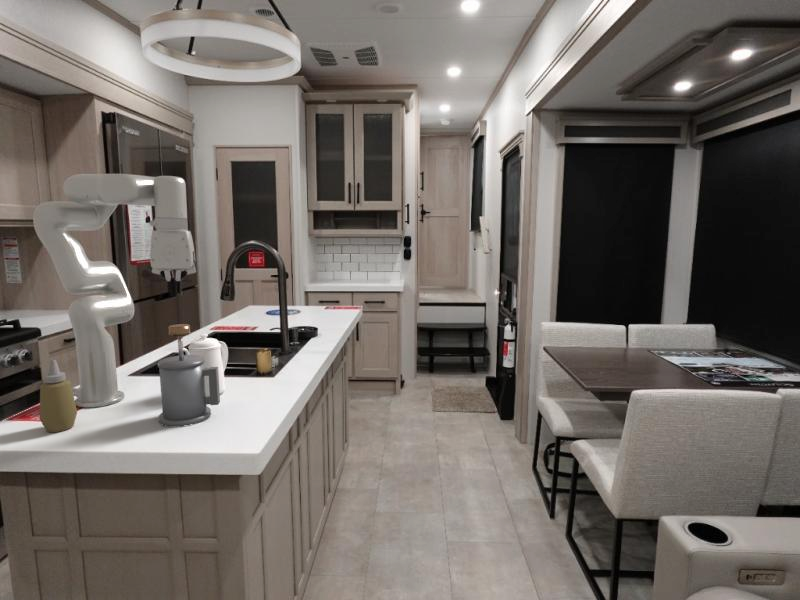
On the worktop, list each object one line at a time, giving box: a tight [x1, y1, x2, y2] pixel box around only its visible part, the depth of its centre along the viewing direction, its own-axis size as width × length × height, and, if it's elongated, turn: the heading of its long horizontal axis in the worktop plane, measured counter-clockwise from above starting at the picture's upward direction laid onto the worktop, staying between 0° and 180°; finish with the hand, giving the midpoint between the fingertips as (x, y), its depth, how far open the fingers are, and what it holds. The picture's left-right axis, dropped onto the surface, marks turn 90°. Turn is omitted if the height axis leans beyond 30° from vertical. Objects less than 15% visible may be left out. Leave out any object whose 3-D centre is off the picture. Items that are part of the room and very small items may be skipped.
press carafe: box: [157, 354, 221, 427], centre depth 135 cm, size 16×13×16 cm
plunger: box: [168, 323, 191, 360], centre depth 133 cm, size 5×5×9 cm
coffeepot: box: [176, 333, 229, 396], centre depth 154 cm, size 11×25×19 cm, turn 168°
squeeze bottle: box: [39, 359, 78, 433], centre depth 128 cm, size 8×8×18 cm
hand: (175, 295), depth 132 cm, fingers closed
